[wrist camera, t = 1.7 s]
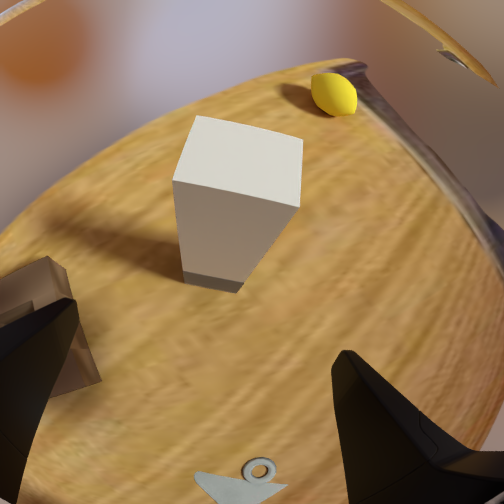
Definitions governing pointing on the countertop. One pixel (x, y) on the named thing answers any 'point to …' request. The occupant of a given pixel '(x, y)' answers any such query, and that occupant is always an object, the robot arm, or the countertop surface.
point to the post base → (37, 296)
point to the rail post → (233, 199)
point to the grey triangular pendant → (241, 484)
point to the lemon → (333, 94)
